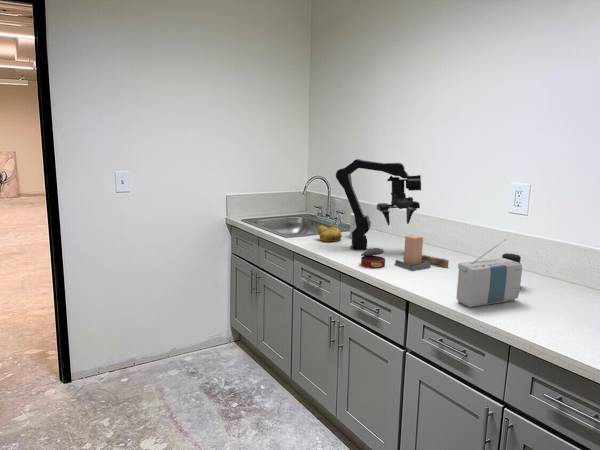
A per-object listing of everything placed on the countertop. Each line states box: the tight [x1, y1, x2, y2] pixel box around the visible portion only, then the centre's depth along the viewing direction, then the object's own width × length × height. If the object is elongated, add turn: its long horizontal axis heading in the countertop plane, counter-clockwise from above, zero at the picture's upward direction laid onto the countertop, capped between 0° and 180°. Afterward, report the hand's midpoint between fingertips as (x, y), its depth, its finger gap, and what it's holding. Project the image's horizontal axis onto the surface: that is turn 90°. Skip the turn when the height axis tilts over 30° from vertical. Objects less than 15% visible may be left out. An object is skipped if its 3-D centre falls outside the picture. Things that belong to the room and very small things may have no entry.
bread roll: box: [317, 224, 343, 243], centre depth 240 cm, size 13×10×8 cm
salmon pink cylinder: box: [403, 234, 424, 265], centre depth 194 cm, size 5×5×12 cm
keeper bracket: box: [393, 259, 432, 271], centre depth 195 cm, size 10×10×2 cm
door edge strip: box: [402, 254, 450, 269], centre depth 201 cm, size 20×2×3 cm, turn 47°
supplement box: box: [349, 212, 367, 240], centre depth 247 cm, size 7×7×13 cm
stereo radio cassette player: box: [456, 238, 523, 308], centre depth 153 cm, size 21×8×20 cm, turn 114°
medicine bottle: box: [501, 252, 523, 276], centre depth 170 cm, size 7×7×12 cm
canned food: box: [360, 247, 386, 269], centre depth 195 cm, size 11×10×10 cm
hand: (398, 224), depth 217 cm, fingers open, 9 cm apart
